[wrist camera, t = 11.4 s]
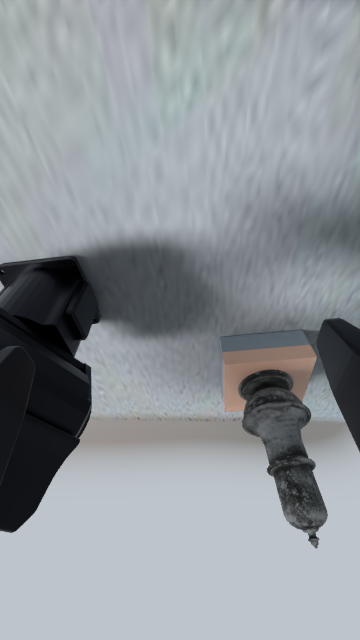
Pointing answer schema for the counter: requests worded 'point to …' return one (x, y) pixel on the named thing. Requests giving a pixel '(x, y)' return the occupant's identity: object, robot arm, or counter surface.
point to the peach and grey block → (264, 361)
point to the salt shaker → (284, 446)
